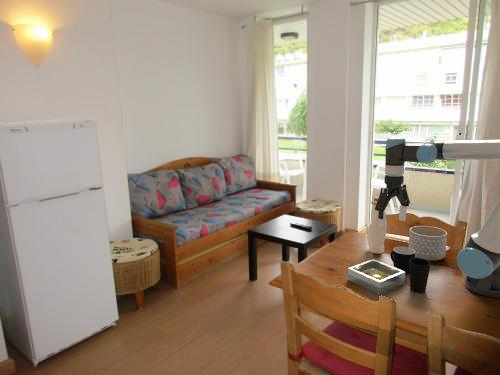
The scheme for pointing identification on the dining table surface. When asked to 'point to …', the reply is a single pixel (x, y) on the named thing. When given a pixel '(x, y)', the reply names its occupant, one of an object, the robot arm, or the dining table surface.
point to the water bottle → (376, 231)
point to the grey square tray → (376, 276)
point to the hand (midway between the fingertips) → (392, 223)
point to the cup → (419, 274)
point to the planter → (428, 242)
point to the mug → (402, 258)
